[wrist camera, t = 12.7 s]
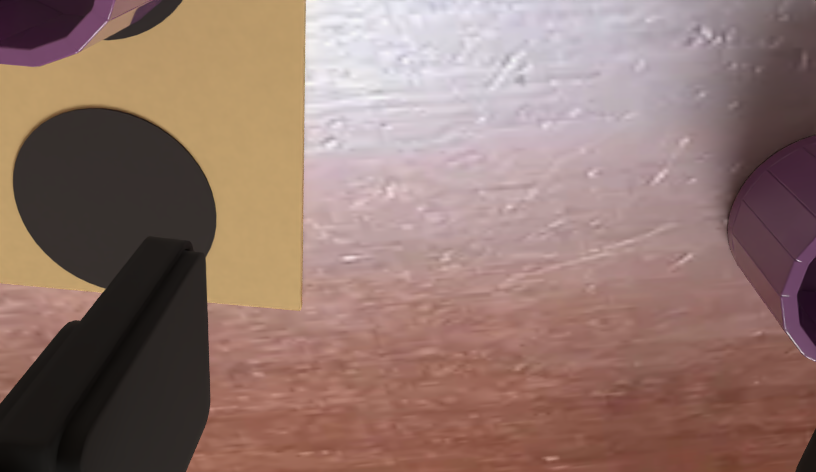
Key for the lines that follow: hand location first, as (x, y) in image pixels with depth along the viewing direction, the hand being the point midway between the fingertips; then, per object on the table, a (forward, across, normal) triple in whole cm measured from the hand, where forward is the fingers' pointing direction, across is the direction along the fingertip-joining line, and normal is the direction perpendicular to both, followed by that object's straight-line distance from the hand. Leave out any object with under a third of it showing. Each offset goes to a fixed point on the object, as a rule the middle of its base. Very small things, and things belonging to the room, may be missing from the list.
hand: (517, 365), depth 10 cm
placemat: (+16, +13, +2) cm, 21 cm away
